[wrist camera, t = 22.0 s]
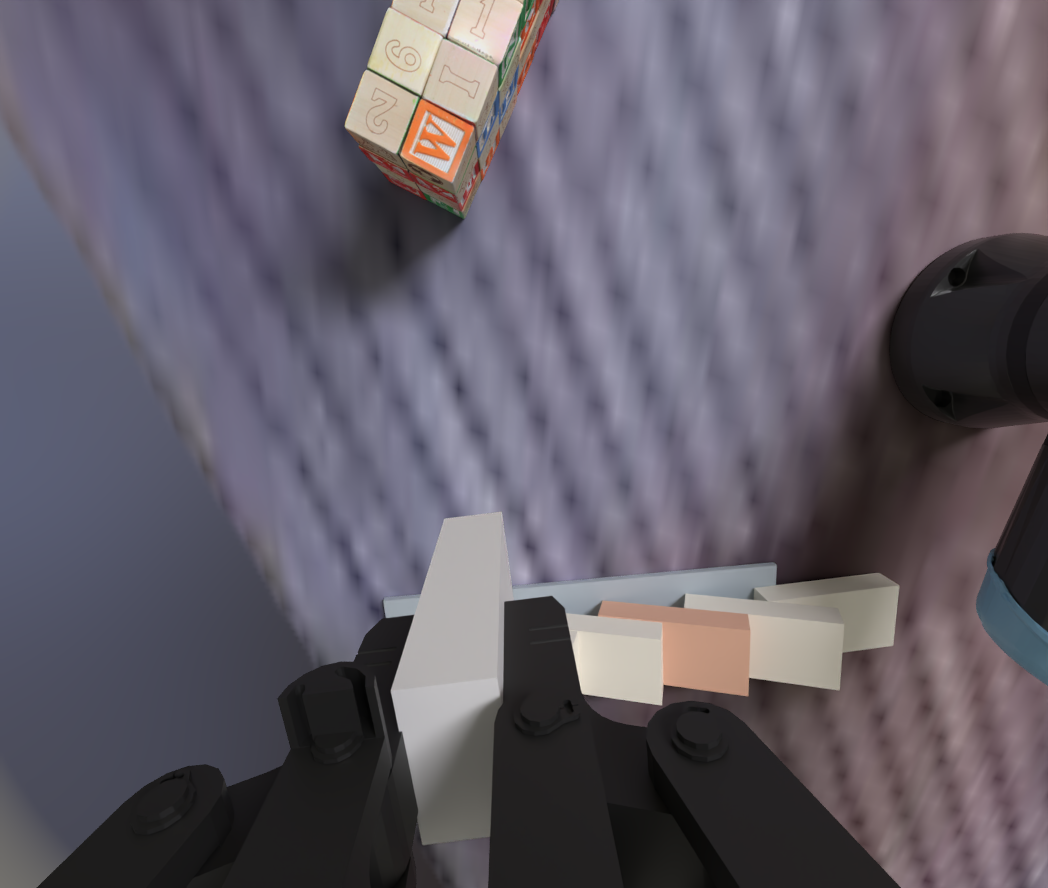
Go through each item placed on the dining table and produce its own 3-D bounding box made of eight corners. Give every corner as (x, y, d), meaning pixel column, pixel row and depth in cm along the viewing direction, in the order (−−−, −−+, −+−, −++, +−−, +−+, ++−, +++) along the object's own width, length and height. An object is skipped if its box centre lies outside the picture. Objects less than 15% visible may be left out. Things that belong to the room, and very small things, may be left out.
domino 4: (753, 588, 48) (878, 572, 49) (752, 646, 49) (873, 630, 50) (768, 601, 46) (899, 585, 47) (766, 662, 47) (893, 645, 48)
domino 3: (685, 593, 48) (837, 608, 44) (685, 652, 49) (833, 671, 45) (684, 607, 46) (844, 624, 42) (684, 668, 47) (839, 690, 43)
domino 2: (602, 600, 48) (747, 614, 44) (604, 659, 49) (745, 677, 45) (598, 614, 45) (750, 630, 42) (600, 676, 47) (748, 696, 43)
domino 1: (523, 608, 47) (662, 622, 44) (528, 667, 49) (663, 685, 45) (514, 624, 45) (660, 639, 42) (520, 685, 47) (661, 705, 43)
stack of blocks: (510, -130, 36) (516, -357, 24) (593, -79, 36) (639, -272, 24) (388, 183, 40) (340, 126, 28) (465, 223, 40) (451, 184, 29)
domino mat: (773, 562, 48) (776, 565, 48) (769, 658, 51) (772, 662, 50) (384, 597, 47) (383, 600, 47) (399, 694, 50) (398, 698, 49)
